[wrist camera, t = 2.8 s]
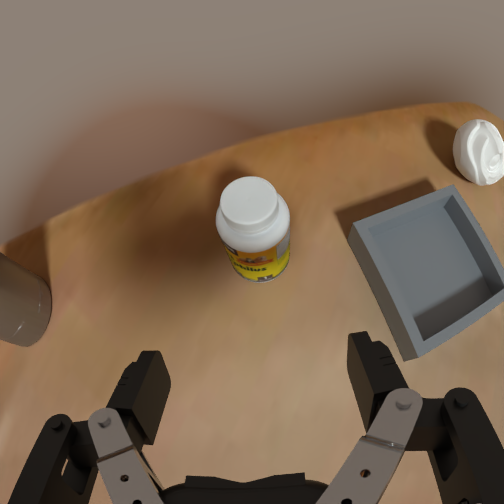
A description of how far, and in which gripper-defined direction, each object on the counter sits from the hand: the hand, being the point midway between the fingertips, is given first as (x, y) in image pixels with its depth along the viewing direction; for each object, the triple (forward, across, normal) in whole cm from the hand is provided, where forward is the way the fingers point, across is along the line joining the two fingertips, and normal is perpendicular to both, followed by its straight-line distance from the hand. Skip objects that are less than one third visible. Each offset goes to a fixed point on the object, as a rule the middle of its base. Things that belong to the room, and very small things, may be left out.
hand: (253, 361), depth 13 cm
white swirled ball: (+24, -28, -3) cm, 37 cm away
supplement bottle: (+18, 0, +3) cm, 18 cm away
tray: (+15, -17, +5) cm, 23 cm away
